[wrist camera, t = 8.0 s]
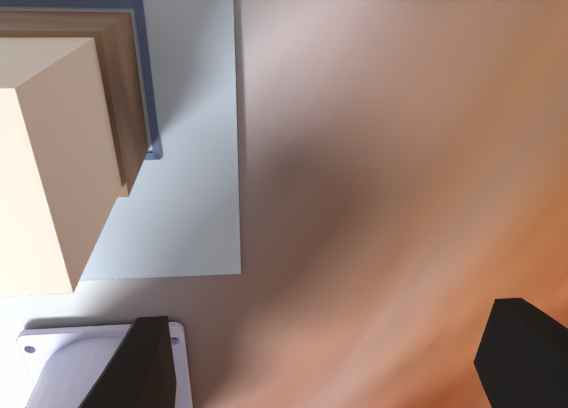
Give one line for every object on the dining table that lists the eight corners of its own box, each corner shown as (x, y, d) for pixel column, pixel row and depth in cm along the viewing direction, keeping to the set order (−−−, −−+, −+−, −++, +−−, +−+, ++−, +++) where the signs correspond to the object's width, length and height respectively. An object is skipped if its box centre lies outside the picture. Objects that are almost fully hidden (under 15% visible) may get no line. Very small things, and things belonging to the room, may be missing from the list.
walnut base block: (148, 148, 18) (128, 196, 14) (16, 150, 17) (-39, 201, 14) (130, 12, 15) (100, 31, 12) (-25, 10, 15) (-104, 28, 11)
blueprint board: (240, 268, 22) (241, 275, 21) (-22, 279, 20) (-28, 286, 20) (227, -234, 13) (226, -240, 12) (-242, -268, 11) (-260, -276, 11)
